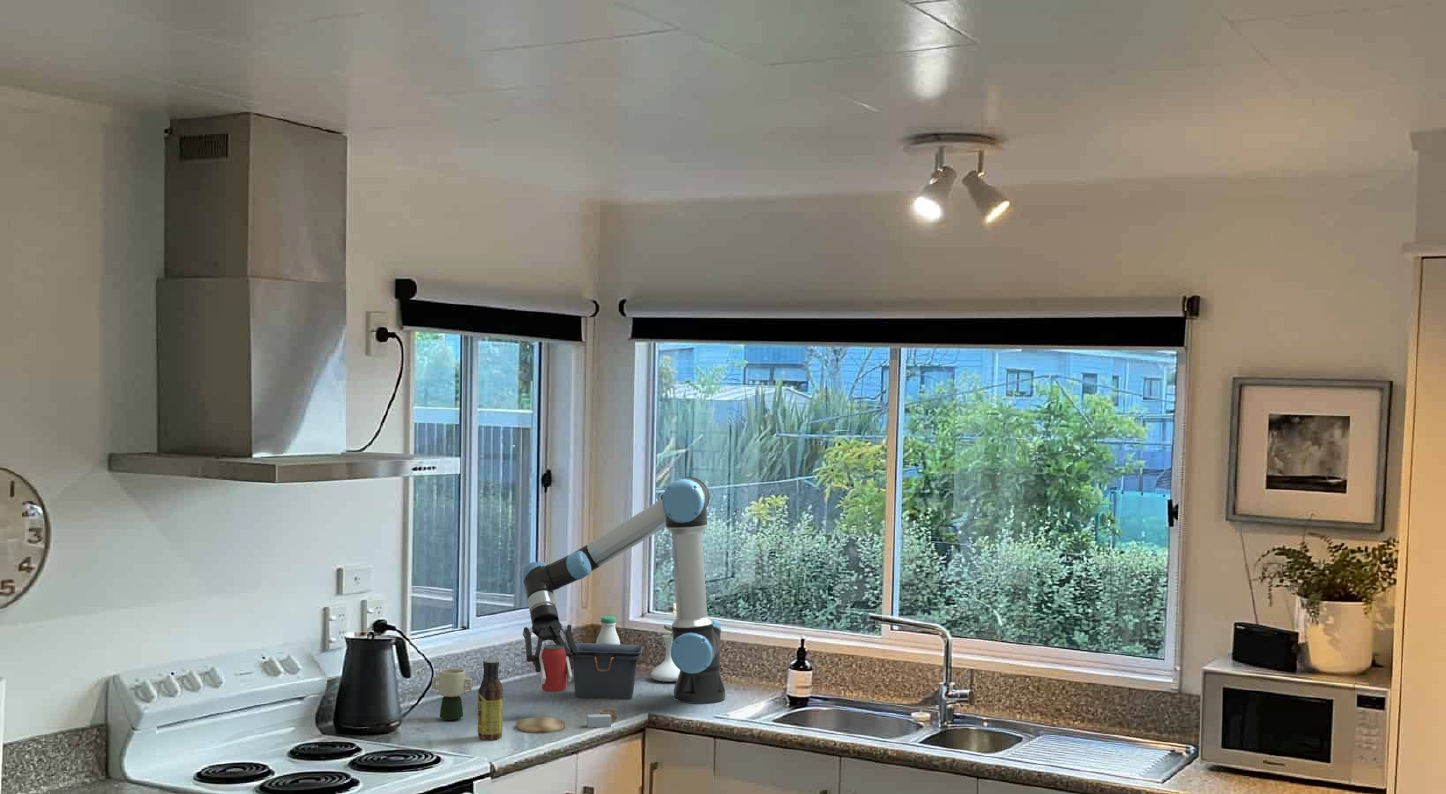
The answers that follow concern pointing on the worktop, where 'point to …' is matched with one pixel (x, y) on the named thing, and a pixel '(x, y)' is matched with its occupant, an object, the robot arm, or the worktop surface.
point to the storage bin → (605, 670)
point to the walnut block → (610, 711)
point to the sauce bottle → (490, 702)
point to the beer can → (554, 668)
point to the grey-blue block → (599, 720)
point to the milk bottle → (608, 631)
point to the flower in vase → (667, 660)
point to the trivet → (540, 725)
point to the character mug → (451, 691)
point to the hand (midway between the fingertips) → (557, 679)
